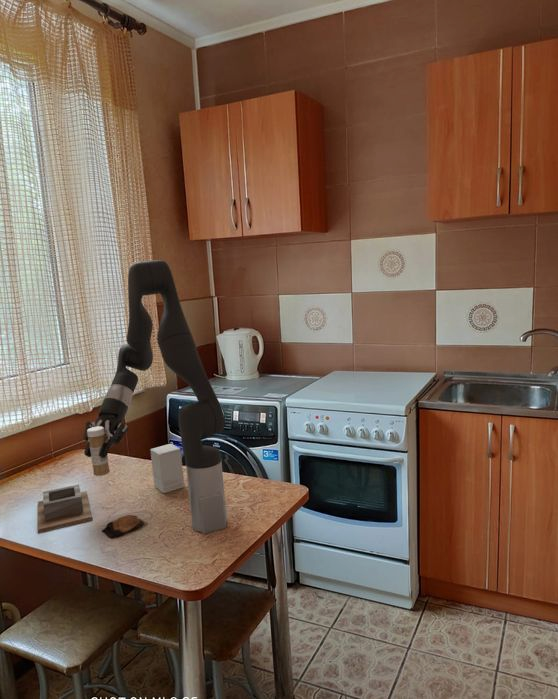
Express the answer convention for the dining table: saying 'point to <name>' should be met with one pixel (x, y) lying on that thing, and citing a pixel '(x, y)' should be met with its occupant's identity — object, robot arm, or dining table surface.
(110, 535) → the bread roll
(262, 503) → the dining table surface
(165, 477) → the supplement box
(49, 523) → the collar board
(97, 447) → the sprinkles bottle
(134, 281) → the robot arm
